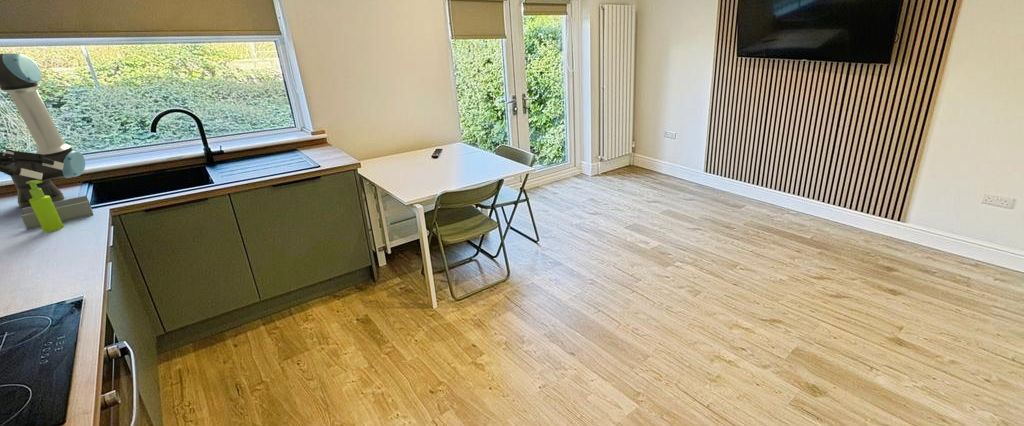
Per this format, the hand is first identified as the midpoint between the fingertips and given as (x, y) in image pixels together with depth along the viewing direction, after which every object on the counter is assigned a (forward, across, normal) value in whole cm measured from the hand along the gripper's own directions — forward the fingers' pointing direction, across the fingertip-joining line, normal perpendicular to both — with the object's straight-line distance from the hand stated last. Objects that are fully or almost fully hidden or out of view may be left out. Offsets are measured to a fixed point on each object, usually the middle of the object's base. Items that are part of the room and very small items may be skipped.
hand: (52, 171), depth 182 cm
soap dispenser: (+4, 0, -24) cm, 24 cm away
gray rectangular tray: (+10, -10, -15) cm, 20 cm away
